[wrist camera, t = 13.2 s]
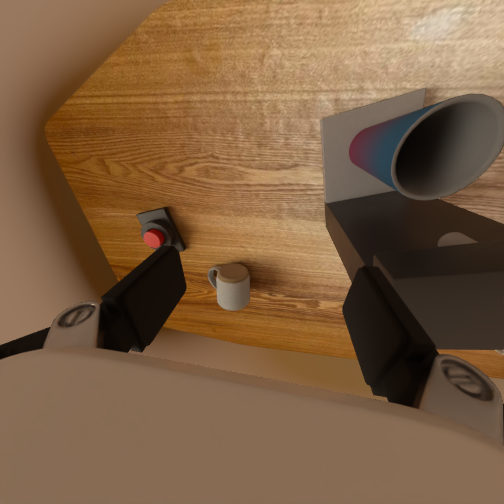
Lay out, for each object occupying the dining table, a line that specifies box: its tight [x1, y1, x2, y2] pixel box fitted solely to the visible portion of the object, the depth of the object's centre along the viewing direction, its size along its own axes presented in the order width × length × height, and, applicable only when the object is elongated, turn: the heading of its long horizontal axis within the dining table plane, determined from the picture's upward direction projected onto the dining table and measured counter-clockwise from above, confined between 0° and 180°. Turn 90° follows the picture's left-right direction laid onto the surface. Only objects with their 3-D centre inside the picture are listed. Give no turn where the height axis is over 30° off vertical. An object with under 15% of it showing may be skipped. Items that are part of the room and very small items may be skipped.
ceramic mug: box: [208, 264, 250, 311], centre depth 41 cm, size 11×8×8 cm
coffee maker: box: [320, 88, 504, 350], centre depth 19 cm, size 17×12×24 cm
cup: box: [349, 94, 504, 200], centre depth 20 cm, size 7×7×15 cm
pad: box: [136, 207, 186, 252], centre depth 40 cm, size 10×7×3 cm
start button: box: [144, 229, 165, 248], centre depth 38 cm, size 4×4×2 cm
